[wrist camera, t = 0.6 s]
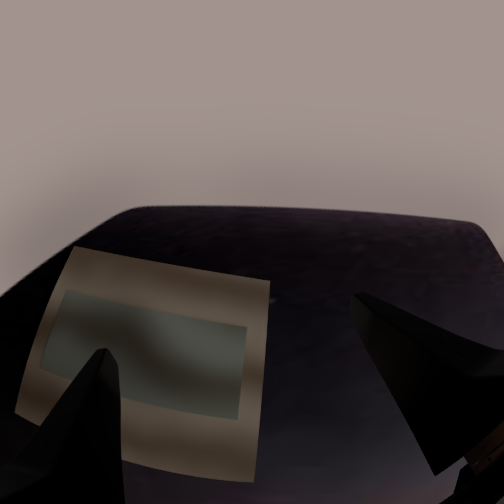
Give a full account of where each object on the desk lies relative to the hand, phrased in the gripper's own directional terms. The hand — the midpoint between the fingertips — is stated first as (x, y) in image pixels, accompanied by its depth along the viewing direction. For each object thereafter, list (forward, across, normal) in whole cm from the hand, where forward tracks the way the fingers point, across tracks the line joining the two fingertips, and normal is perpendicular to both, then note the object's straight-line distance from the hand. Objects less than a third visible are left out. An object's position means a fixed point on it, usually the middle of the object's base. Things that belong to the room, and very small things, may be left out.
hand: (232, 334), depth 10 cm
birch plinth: (+8, +8, +10) cm, 15 cm away
